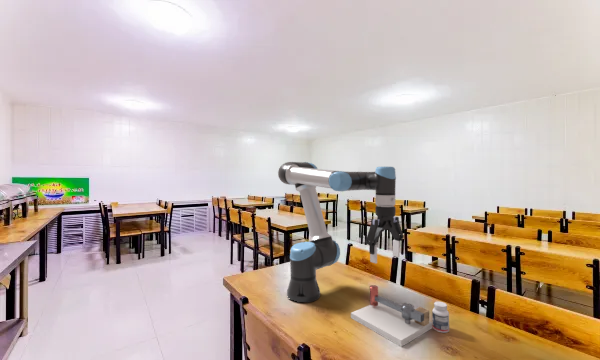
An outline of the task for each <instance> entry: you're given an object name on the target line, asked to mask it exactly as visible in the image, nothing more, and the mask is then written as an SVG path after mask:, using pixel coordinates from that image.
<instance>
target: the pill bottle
mask: <svg viewBox="0 0 600 360" xmlns="http://www.w3.org/2000/svg"><path fill="white" fill-rule="evenodd" d="M431 312H432V313H431V315H432V321H431V322H432V329H433V330H435V331H436V332H439V333H442V334H443V333H444V334H445V333H448V332H450V313H449V311H448V305H447V303H446V302H443V301H435V302H433V308H432V311H431Z"/></svg>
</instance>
